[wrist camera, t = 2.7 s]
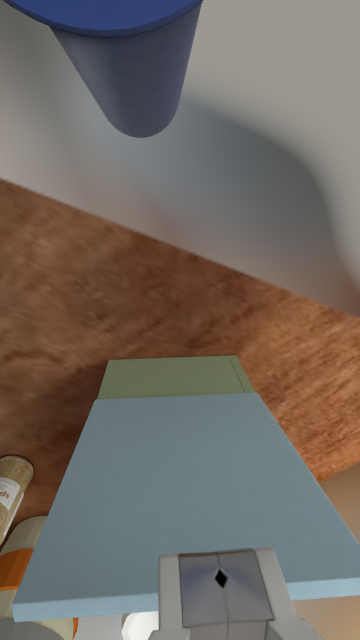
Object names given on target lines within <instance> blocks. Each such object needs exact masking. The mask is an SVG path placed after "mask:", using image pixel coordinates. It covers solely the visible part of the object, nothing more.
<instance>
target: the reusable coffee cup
mask: <svg viewBox="0 0 360 640" xmlns="http://www.w3.org/2000/svg"><path fill="white" fill-rule="evenodd" d="M46 519H47V516H37V517H32V518H29V519H27V520H24V521H23V522H21V523H20V524H18V525H17V526H16V527H15V529H14V530H13V532H12V533H11V535H10V537H9V539H8V540H7V542H6V544H5V545H4V547H3V549H2V551H1V552H0V640H73V638H74V636H75V634H76V632H77V626H78V617H76V618H64V619H51V620H38V621H26V622H14V617H13V611H12V602H13V600H14V597H15V595H16V592H17V590H18V588H19V585H20V583H21V580H22V578H23V575H24V573H25V570H26V568H27V565H28V563H29V561H30V558H31V556H32V553H33V551H34V548H35V546H36V543H37V541H38V538H39V536H40V534H41V531H42V529H43V526H44V524H45V521H46Z"/></svg>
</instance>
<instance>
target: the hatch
mask: <svg viewBox="0 0 360 640" xmlns="http://www.w3.org/2000/svg"><path fill="white" fill-rule="evenodd" d="M263 547H272V549H273V550H274V551H275V554H276V557H277V560H278V563H279V566H280V568H281V571H282V574H283V577H284V580H285V583H286V586H287V589H288V592H289V595H290V598H291V601H292V600H304V599H316V598H330V597H343V596H355V595H360V545H359V543H358V542H357V540H356V539H355V537H354V536H353V534H352V533H351V531H350V530H349V528H348V527H347V525H346V524H345V523H344V521H343V519H342V518H341V517H340V515H339V514H338V512H337V511H336V509H335V508H334V506H333V505H332V503H331V502H330V500H329V499H328V497H327V496H326V494H325V493H324V491H323V490H322V488H321V487H320V485H319V484H318V482H317V481H316V479H315V478H314V476H313V475H312V473H311V472H310V470H309V469H308V467H307V466H306V464H305V463H304V461H303V460H302V458H301V457H300V455H299V454H298V452H297V451H296V449H295V448H294V446H293V445H292V443H291V442H290V440H289V439H288V438H287V436H286V435H285V433H284V432H283V430H282V429H281V427H280V426H279V424H278V423H277V421H276V420H275V418H274V417H273V415H272V414H271V412H270V411H269V409H268V408H267V406H266V405H265V403H264V402H263V400H262V399H261V397H260V396H259V394H258V393H237V394H213V395H190V396H167V397H144V398H120V399H97V400H95V401H94V403H93V406H92V408H91V411H90V413H89V416H88V418H87V421H86V423H85V426H84V428H83V430H82V433H81V435H80V438H79V440H78V443H77V445H76V448H75V450H74V453H73V455H72V457H71V460H70V462H69V465H68V467H67V470H66V472H65V475H64V477H63V480H62V482H61V484H60V487H59V489H58V492H57V494H56V497H55V499H54V502H53V504H52V507H51V509H50V511H49V514H48V516H47V519H46V521H45V524H44V526H43V529H42V531H41V534H40V536H39V538H38V541H37V543H36V546H35V548H34V551H33V553H32V556H31V558H30V561H29V563H28V565H27V568H26V570H25V573H24V575H23V578H22V580H21V583H20V585H19V588H18V590H17V592H16V595H15V597H14V600H13V602H12V611H13V617H14V622H26V621H38V620H51V619H64V618H76V617H89V616H102V615H114V614H127V613H140V612H152V611H158V560H159V555H162V554H176V553H178V554H179V553H199V552H215V551H221V550H232V549H243V548H252V549H253V548H263Z"/></svg>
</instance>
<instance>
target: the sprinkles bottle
mask: <svg viewBox="0 0 360 640" xmlns="http://www.w3.org/2000/svg"><path fill="white" fill-rule="evenodd" d="M32 476H33V467H32V465H31V464H30V463H29V462H28V461H27V460H26V459H24V458H22V457H19V456H12V455H11V456H6V457H3V458H1V459H0V545H1V543H2V542H3V540H4V538H5V536H6V534H7V532H8V529H9V527H10V525H11V523H12V521H13V518H14V516H15V514H16V512H17V509H18V507H19V505H20V503H21V501H22V498H23V495H24V492H25V490H26V488H27V486H28V483H29V482H30V481H31V479H32Z"/></svg>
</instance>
